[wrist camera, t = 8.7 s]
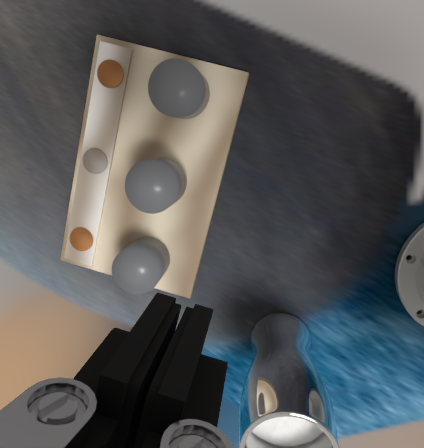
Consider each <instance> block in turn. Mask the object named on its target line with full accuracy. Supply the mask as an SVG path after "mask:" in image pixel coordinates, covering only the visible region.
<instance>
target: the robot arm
mask: <svg viewBox="0 0 424 448" xmlns="http://www.w3.org/2000/svg"><path fill="white" fill-rule="evenodd" d="M408 255H410V257H409V258H408V259H406V257H407V256H408ZM395 285H396V290H397V294H398V296H399V298H400V301H401V303H402V304H403V306H404V307H405V309H406V310H407V312H408V313H409V314H410V315H411V316H412V318H413V319H414V320H415V321H416V322H418V323H419V324H420V325H422V326H423V327H424V223H422V224H421V225H420V226H419V227H418V228H417V229H416V230H415V231H414V232H413V233H412V234H411V235H410V236H409V237H408V239H407V240H406V242H405V243H404V244H403V246H402V249H401V251H400V253H399V255H398V258H397V262H396V266H395ZM175 301H176V298H174V297H170V296H167V295H164V294H160V293H157V294H156V295H155V296H154V298H153V299H152V301H151V302H150V304H149V305H148V307H147V308H146V309H145V311H144V312H143V314H142V315H141V317H140V318H139V320H138V321H137V322H136V324H135V325H134V327H133V328H132V330H131V331H130V332H128V331H125V330H121V329H118V328H114V329H113V330H112V331H111V332H110V333H109V334H108V336H107V337H106V338H105V340H104V341H103V342H102V343H101V344H100V346H99V347H98V348H97V349H96V351H95V352H94V353H93V355H92V356H91V357H90V358H89V360H88V361H87V362H86V363H85V365H84V366H83V367H82V369H81V370H80V371H79V372H78V373H77V375H76V376H75V377H74V379H70V378H52V379H47V380H44V381H40V382H38V383H36V384H34V385H33V386H31V387H29V388H28V389H27V390H25V391H24V392H23V393H22V394H20V395H19V396H18V397H17V398H15V399H14V400H13V401H12V402H10V403H9V404H8V405H7V406H5V407H4V408H3V409H2V410H0V448H233V447H232V444H231V443H230V441H229V439H228V438H227V436H226V435H225V434H224V433H223V432H222V431H221V430H220V429H218V428H217V424H218V418H219V411H220V406H221V400H222V394H223V388H224V382H225V376H226V370H227V364H228V363H227V362H225V361H222V360H218V359H215V358H212V357H209V356H205V355H202V354H201V352H202V349H203V345H204V342H205V338H206V334H207V331H208V327H209V324H210V320H211V317H212V313H213V309H211V308H207V307H204V306H201V305H197V304H195V306H194V308H189V307H186V309H185V311H184V314H183V316H182V318H181V320H180V322H179V324H178V326H177V329H176V325H177V321H178V317H179V313H180V309H181V305H179V304H176V303H175ZM419 310H420V311H419ZM418 311H419V312H418ZM175 329H176V331H175Z"/></svg>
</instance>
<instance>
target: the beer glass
mask: <svg viewBox="0 0 424 448" xmlns="http://www.w3.org/2000/svg"><path fill="white" fill-rule="evenodd" d="M251 347H252V350H253V354H254V357H253V360H252V363H251V366H250V368H249V371H248V373H247V376H246V379H245V382H244V386H243V390H242V395H241V402H240V415H239V434H240V435H239V436H240V446H239V448H339V444H338V436H337V428H336V421H335V416H334V411H333V406H332V402H331V399H330V396H329V392H328V390H327V387H326V385H325V383H324V381H323V378H322V376H321V374H320V373H319V371H318V369H317V367H316V365H315V363H314V362H313V360H312V358H311V356H310V351H311V336H310V332H309V330H308V328H307V327H306V325H305V324H304V323H303V322H302V321H301V320H300V319H299V318H297V317H295V316H293V315H290V314H287V313H273V314H269V315H267V316H265V317H263V318H262V319H260V320H259V321H258V322H257V323H256V325H255V326H254V328H253V330H252V333H251Z"/></svg>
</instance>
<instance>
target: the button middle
mask: <svg viewBox="0 0 424 448" xmlns="http://www.w3.org/2000/svg"><path fill="white" fill-rule="evenodd" d="M186 186H187V179H186V175H185V172H184V170H183V168H182V167H181V166H180V165H179V164H178V163H177V162H176V161H174V160H172V159H170V158H166V157H159V158H154V159H149V160H144V161H141V162H139V163H137V164H135V165H134V166H133V167H132V168H131V169H130V170H129V172H128V173H127V176H126V179H125V192H126V195H127V198H128V199H129V201H130V203H131V204H132V205H133V206H134V207H135V208H137V209H138V210H140V211H142V212H145V213H150V214H155V213H160V212H162V211H164V210H166V209H167V208H169V207H170V206H171V205H173V204H174V203H175V202H177V201H178V200H179V199H180V198H181V197H182V196H183V194H184V192H185V190H186Z"/></svg>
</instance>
